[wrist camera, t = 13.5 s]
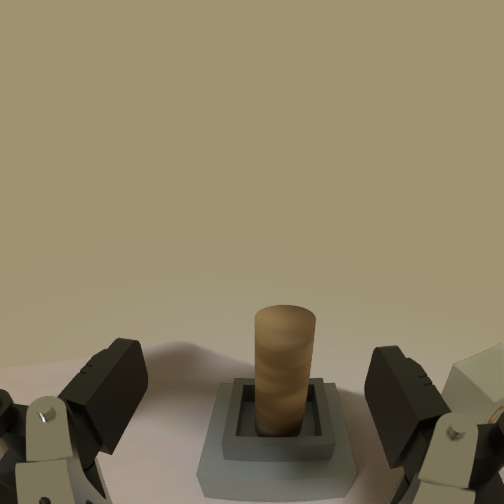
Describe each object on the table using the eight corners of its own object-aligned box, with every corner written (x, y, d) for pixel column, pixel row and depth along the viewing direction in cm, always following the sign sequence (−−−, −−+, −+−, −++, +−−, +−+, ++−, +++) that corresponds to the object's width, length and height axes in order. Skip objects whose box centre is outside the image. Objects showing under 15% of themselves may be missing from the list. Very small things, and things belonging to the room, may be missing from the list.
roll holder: (204, 496, 18) (191, 459, 16) (223, 411, 31) (218, 366, 29) (344, 496, 17) (364, 458, 15) (328, 411, 30) (337, 365, 28)
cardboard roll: (253, 442, 21) (252, 331, 18) (256, 410, 25) (256, 304, 22) (302, 442, 20) (319, 332, 18) (300, 410, 25) (312, 305, 22)
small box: (458, 430, 21) (501, 341, 18) (483, 461, 15) (540, 370, 12) (408, 454, 20) (452, 362, 17) (431, 492, 14) (496, 403, 11)
